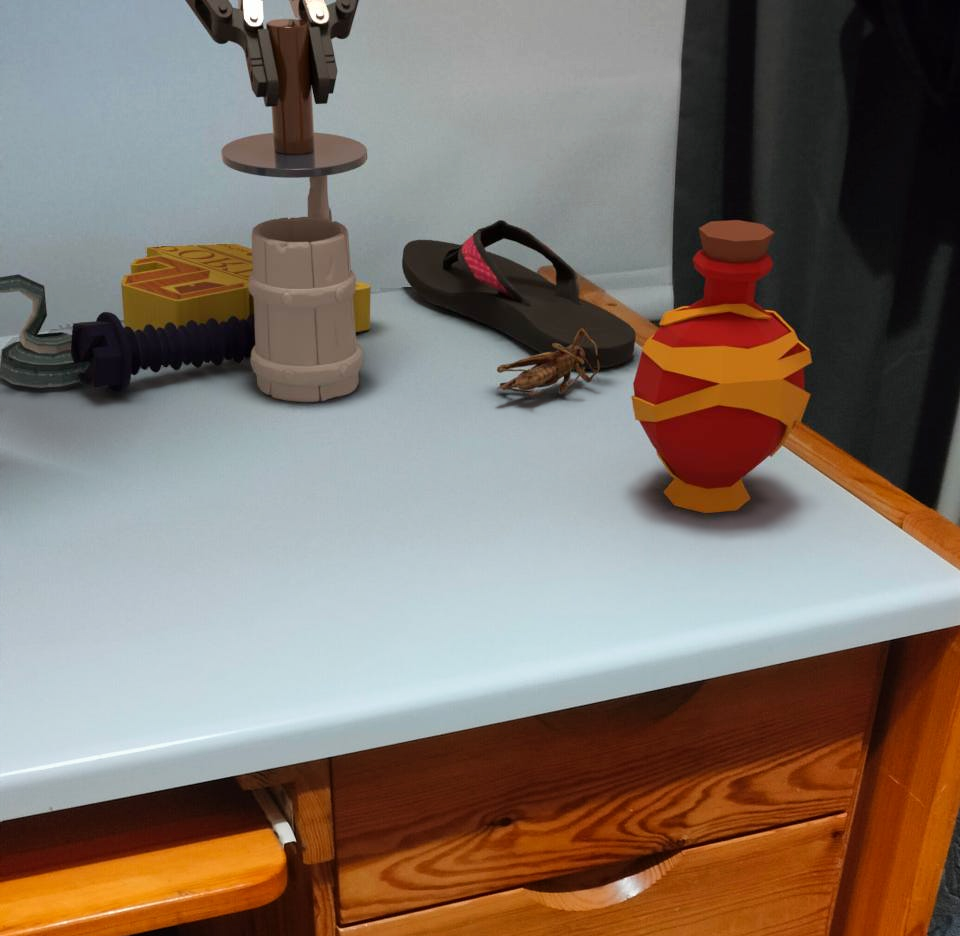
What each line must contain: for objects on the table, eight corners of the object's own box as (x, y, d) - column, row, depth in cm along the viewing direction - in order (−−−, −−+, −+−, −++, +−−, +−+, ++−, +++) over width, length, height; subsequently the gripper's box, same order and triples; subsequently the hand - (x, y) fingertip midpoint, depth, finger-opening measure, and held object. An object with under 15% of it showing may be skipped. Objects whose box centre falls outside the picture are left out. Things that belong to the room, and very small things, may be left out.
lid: (194, 167, 104) (181, 29, 99) (265, 133, 110) (257, 3, 105) (326, 184, 101) (319, 44, 96) (391, 150, 108) (388, 16, 103)
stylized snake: (-84, 376, 113) (-104, 275, 109) (184, 333, 121) (175, 238, 117) (-53, 409, 109) (-73, 306, 104) (224, 364, 116) (216, 266, 112)
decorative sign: (196, 270, 132) (42, 297, 123) (194, 231, 130) (38, 256, 121) (374, 328, 122) (220, 362, 113) (375, 286, 120) (219, 318, 111)
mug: (240, 400, 111) (224, 206, 103) (281, 342, 120) (269, 159, 112) (350, 408, 110) (343, 213, 102) (383, 348, 119) (379, 165, 111)
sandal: (479, 263, 134) (480, 187, 130) (671, 355, 119) (678, 272, 115) (380, 283, 130) (378, 205, 126) (566, 380, 115) (569, 295, 111)
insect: (536, 426, 109) (484, 420, 112) (619, 383, 113) (567, 379, 117) (524, 356, 107) (471, 353, 110) (610, 315, 111) (557, 313, 114)
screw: (106, 374, 107) (80, 300, 107) (85, 408, 112) (60, 337, 111) (338, 349, 116) (315, 280, 116) (310, 381, 120) (288, 315, 120)
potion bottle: (617, 524, 97) (637, 252, 87) (630, 457, 105) (650, 200, 95) (794, 537, 96) (836, 264, 86) (794, 468, 104) (832, 210, 94)
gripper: (133, -220, 97) (189, 62, 96) (362, -222, 100) (417, 51, 100) (132, -122, 104) (184, 141, 104) (345, -126, 107) (396, 129, 107)
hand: (298, 96), depth 102 cm, fingers closed on lid, 2 cm apart
